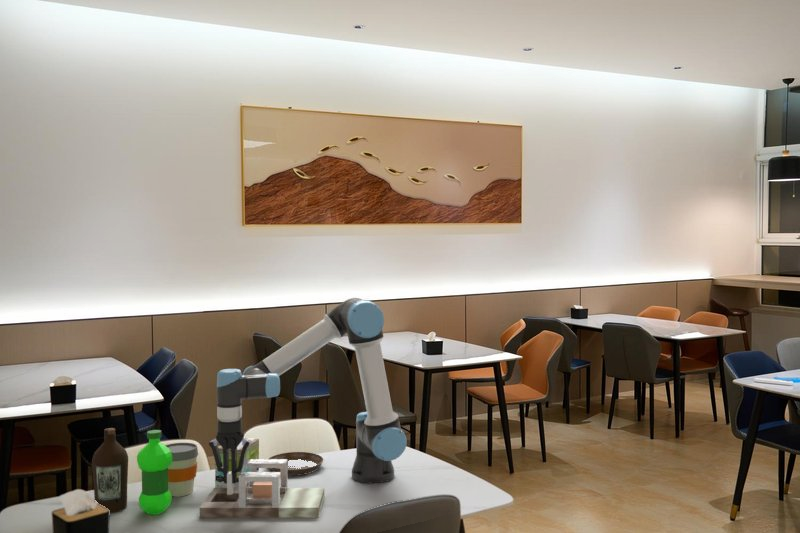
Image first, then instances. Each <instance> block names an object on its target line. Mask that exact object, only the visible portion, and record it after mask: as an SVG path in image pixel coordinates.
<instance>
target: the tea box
mask: <svg viewBox="0 0 800 533" xmlns="http://www.w3.org/2000/svg"><path fill="white" fill-rule="evenodd" d="M244 438H245V439H247V440H250V441H251V443H250V444H249V446H248V447H247V452H246V456H245V460H244V465H243V468H242V470H241V471H240V472H237V481H236V483H234V488H239V476H240V474H241V473H242V472H250V468H248V462H249V461H250V459H260V439H259V438H253V437H252V438H251V437H250V438H249V437H244ZM217 446H218V449H219V453H220V457H221V461H222V465H223V448H222V447H221V445H220V444H219V445H217ZM242 448H243V446H242V441H241V443H240V444H239V445H238V447H237V467H238V465H239V460H240V456H241V452H242ZM214 462H215V461H214ZM214 465H215V467H214V469H215V470H214V473H215V474H214V477H215V479H214V488H227V483H224V474H223V472H218V470H217V466H216V462H215V464H214ZM259 469H260V468H257V472H260V470H259ZM229 472H232V465H231V449H229ZM248 487H250V482H247V488H248Z"/></svg>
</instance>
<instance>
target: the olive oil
mask: <svg viewBox="0 0 800 533" xmlns="http://www.w3.org/2000/svg"><path fill="white" fill-rule="evenodd" d="M103 432H104V433H103V442H102V443H101V445H100V446H99V447H98V448H97V449H96V450H95V451H94V453H93V456H92V459H91V468H92V478H93V482H92V483H93V495H94V496H93V497H94V501H95V500H96V501H97V502H98V503H99V504H101V505H103V506H105V507H106V508H108V509H109V510H110V513H109V514H112V513H118V512H121V511H123V510H125V509H126V508H127V506H128V478H129V477H128V476H129V454H128V451H127V450H126V449H125V448H124V447H123V446H122V445H121V444H120V443H119V442H118V441H117V439H116V435H117V434H116V428H114V427H109V428H105V429H104V431H103ZM120 510H121V511H120ZM117 511H118V512H117Z"/></svg>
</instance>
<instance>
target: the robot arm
mask: <svg viewBox="0 0 800 533" xmlns="http://www.w3.org/2000/svg"><path fill="white" fill-rule="evenodd" d="M384 324H385V316H384V312H383V310H382V309H381V307H380V306H378V305H377V304H376V303H375V302H374V301H371V300H368V299H363V298H359V297H353V298H348V299H346V300H344V301H342V302H341V303H340V304H337V306H335V307H334V308H333V309H331V310H330V311H328V312H327V313H325V314H324V315H323V319H322V320H320V321H319V322H317V323H315V325H313V326H311V327H310V328H308V329H307V330H306V331H303V333H301V334H299V335H298V336H297V337H295V338H293V339H292V340H291V341H289V342H288V343H286V344H285V345H283V346H282V347H281V348H279V349H277V350H276V351H275V352H272V353H271V354H270V355H269V356H267V357H266V358H263V360H261V361H260V362H257V363H256V364H255V365H250V366H248V367H245V369H244V371H243V372H242V371H241V369H238V368H226V369H225V368H224V369H221V370H219V371H218V372H217V375H216V407H217V408H216V412H217V413H216V416H217V425H216V426H217V432H216V433H217V434H216V436H215V438H214V439H211V440H210V441H209V442H208V445H209V447H210V449H211V450H212V454H213V457H214V462H216V466H217V470H218V472H223V474H224V483H227V495H232V494H233V492H234V483H236V481H237V472H240V471H241V470H242V468H243V465H244V460H245V456H246V452H247V447H248V446H249V444H250V443H251V441H250V440H247V439H245V438H246V437H245V436H244V433H243V420H242V419H241V418H242V417H243V416H242V415H243V409H242V407H243V403H242V401H243V400H250V399H251V400H253V399H254V400H255V399H270V398H275V397H278V396H279V395H280V392H281V378H280V376H281V375H283V374H284V373H285V372H287V371H289V370H290V369H292V368H293V367H295V366H296V365H297V364H299V363H300V362H302V361H303V360H305V359H306V358H308V357H309V356H310V355H312V354H314V353H315V352H317V351H318V350H320V349H321V348H323V347H324V346H325V345H327V344H328V343H330V342H332V341H333V340H334V339H337V338H338V339H341V338H343V337H344V336H345V335H347V339H348V343H349V345H351V346H352V347H354V350H355V352H354V353H355V356H356V361H357V366H358V367H357V368H358V373H359V377H360V382H361V383H360V384H361V388H362V393H363V398H364V404H365V409H366V411H362V412H359V413H358V414H356V421H355V424H356V425H355V427H356V429H355V430H356V432H355V433H356V435H355V436H356V442H355V443H356V444H355V445H356V453H355V454H356V455H355V459H354V462H353V464H352V468H351V478H352V479H353V480H355V481H356V482H360V483H365V484H377V483H384V482H389V481H391V480H393V479H394V478H395V468H394V464H393V463H392V462H393V461H394V460H397V459H399V457H400V456H402V455H403V453H404V451H405V450H406V448H407V442H408V441H407V437H406V434H405V432H404V431H403V430H402V429H401V423H400V419H399V414H398V413H396V412H394V410H393V406H392V400H391V396H390V394H391V393H390V389H389V383H388V378H387V372H386V369H385V362H384V358H383V357H384V356H383V353H382V352H383V351H382V345H381V342H382V340H383V339H384V337H385V336H384V332H383V331H384V330H383V328H384ZM241 441H242V446H243V448H242V452H241V456H240V460H239V465H238V467H237V447H238V445H239V444H240V443H241ZM218 444H219V445H218ZM220 445H221V447H222V448H223V465H222V461H221V457H220V453H219V449H218V446H220ZM229 449H231V465H232V472H229Z"/></svg>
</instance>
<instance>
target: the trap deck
mask: <svg viewBox="0 0 800 533" xmlns="http://www.w3.org/2000/svg"><path fill="white" fill-rule="evenodd" d="M247 498H253V493H248V487H247ZM280 498H281V504H280V506H279V508H272V504H247V506H246V508H239V488H234V492H233V494H232V495H227V488H215V487H214V488H213V489H212V490H211V492H209V494H208V496H207V497H206V498H205V500H204V501H203V502H202V503H201V505H200V506H199V518H202V519H203V518H210V519H211V518H213V519H216V518H222V519H223V518H225V519H226V518H229V519H230V518H237V519H238V518H250V519H251V518H256V519H257V518H259V519H260V518H319V517H320V513H321V510H322V508H323V507H322V506H323V503H324V500H325V487H288V488H287V490H286V493H280Z"/></svg>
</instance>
